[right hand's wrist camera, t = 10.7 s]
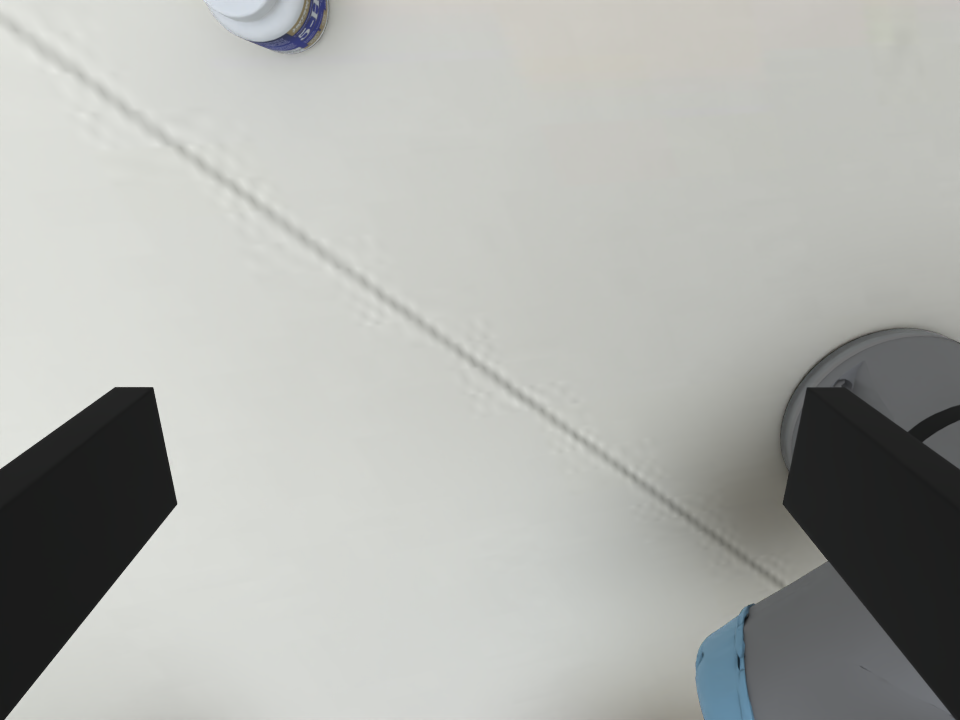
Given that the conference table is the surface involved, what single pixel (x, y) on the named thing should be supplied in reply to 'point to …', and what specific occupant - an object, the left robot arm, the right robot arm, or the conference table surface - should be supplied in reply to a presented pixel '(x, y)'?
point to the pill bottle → (273, 21)
